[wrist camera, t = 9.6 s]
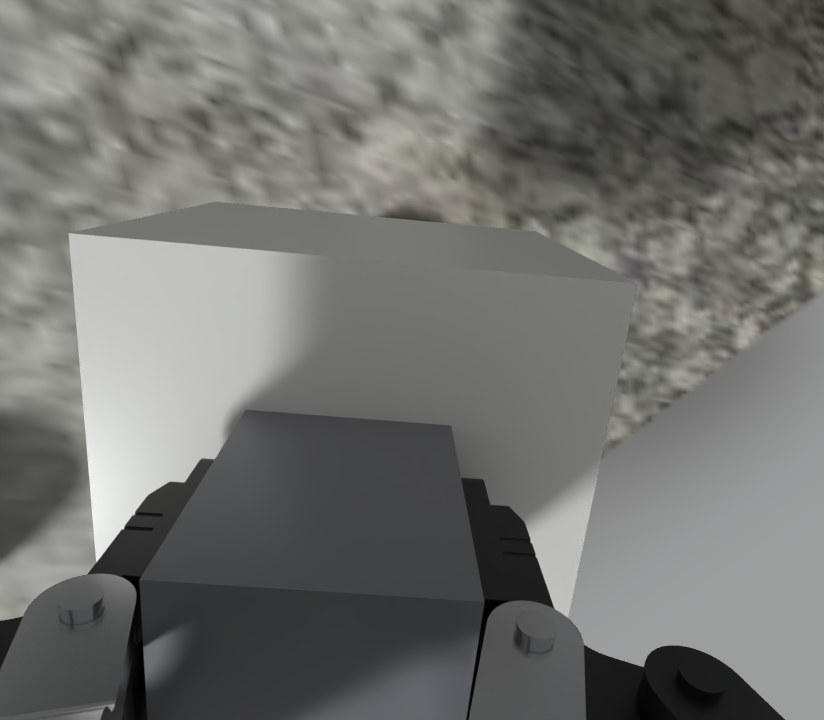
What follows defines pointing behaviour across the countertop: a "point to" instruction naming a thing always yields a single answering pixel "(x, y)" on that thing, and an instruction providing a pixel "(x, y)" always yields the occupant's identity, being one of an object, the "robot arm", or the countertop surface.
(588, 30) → the countertop surface
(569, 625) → the robot arm
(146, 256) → the white square block
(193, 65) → the countertop surface
